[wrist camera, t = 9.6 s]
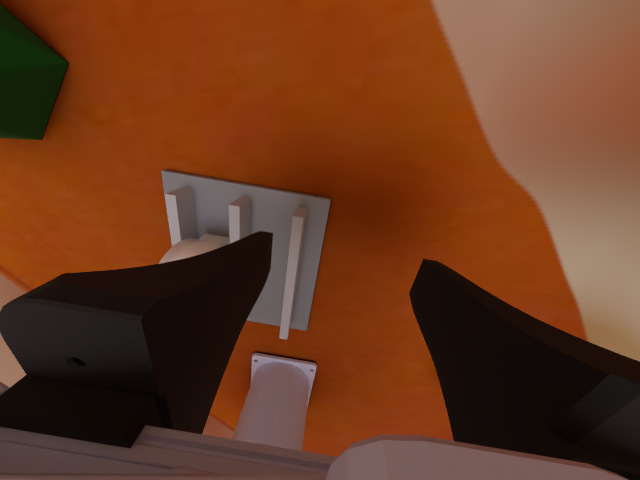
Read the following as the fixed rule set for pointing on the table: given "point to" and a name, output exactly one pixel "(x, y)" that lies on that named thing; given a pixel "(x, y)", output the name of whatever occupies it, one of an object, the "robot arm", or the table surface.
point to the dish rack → (250, 217)
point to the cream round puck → (194, 247)
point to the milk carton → (26, 80)
